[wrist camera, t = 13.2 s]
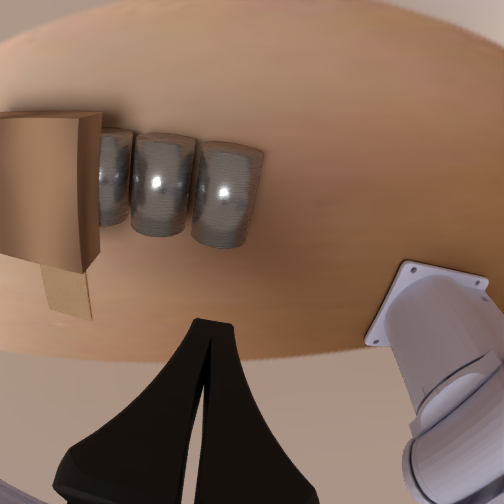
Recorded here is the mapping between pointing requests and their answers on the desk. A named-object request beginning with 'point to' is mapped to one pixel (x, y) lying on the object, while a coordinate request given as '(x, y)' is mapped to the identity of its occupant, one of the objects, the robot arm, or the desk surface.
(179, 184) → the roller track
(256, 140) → the desk surface
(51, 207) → the slab
